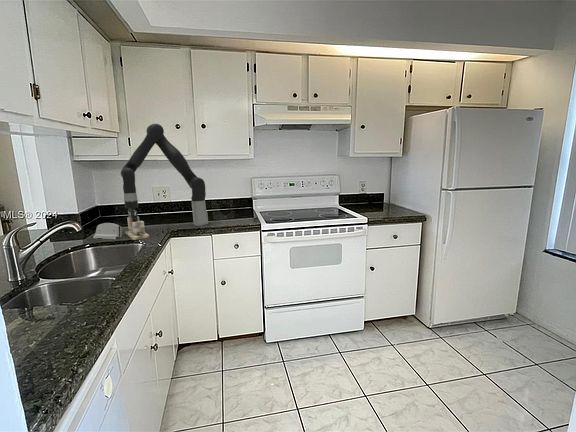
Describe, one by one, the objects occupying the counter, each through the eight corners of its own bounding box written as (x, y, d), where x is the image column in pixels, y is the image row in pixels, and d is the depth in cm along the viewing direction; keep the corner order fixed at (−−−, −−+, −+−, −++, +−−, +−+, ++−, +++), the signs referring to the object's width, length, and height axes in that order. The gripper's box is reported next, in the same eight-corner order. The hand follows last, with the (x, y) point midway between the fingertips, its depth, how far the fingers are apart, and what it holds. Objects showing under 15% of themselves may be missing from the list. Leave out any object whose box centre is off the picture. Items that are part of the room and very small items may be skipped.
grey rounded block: (92, 238, 194) (94, 222, 196) (98, 238, 199) (100, 223, 200) (115, 239, 191) (117, 222, 192) (121, 239, 195) (123, 223, 196)
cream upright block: (138, 228, 204) (137, 216, 202) (140, 229, 201) (138, 216, 200) (128, 229, 200) (127, 217, 199) (130, 230, 197) (128, 218, 196)
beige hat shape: (140, 231, 208) (138, 217, 206) (149, 237, 193) (147, 221, 191) (125, 234, 203) (123, 219, 201) (133, 239, 187) (131, 224, 186)
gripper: (121, 199, 200) (125, 226, 203) (127, 201, 189) (130, 229, 193) (134, 198, 205) (137, 224, 208) (140, 200, 194) (143, 227, 197)
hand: (134, 226), depth 200 cm, fingers closed on cream upright block, 4 cm apart
